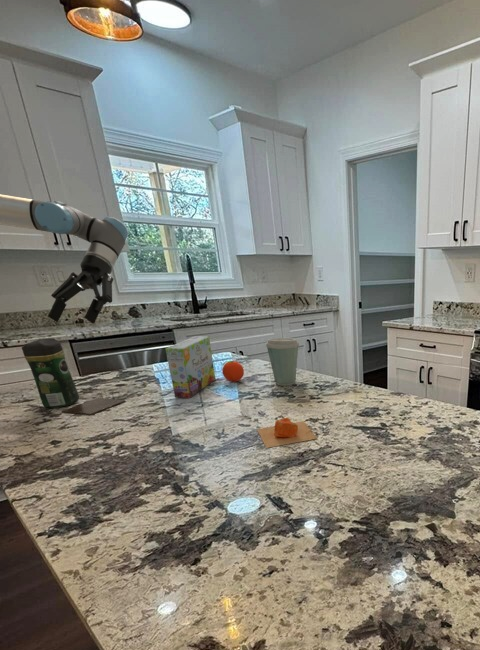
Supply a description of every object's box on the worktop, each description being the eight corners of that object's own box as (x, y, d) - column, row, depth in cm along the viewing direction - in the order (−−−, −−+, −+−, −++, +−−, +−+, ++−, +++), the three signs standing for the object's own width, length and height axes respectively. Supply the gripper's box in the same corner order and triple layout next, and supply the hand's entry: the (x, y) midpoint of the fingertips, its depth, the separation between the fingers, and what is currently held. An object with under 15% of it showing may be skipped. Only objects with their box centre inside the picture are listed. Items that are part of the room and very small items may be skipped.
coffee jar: (54, 399, 126) (32, 337, 118) (83, 397, 128) (63, 335, 120) (38, 410, 118) (13, 343, 110) (70, 407, 119) (47, 342, 111)
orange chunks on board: (303, 421, 108) (302, 406, 106) (317, 438, 98) (316, 422, 96) (256, 429, 104) (254, 413, 102) (266, 448, 94) (263, 430, 92)
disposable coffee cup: (274, 378, 146) (269, 335, 139) (305, 378, 145) (301, 335, 139) (266, 387, 136) (260, 341, 130) (299, 387, 136) (295, 341, 129)
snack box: (192, 398, 127) (182, 348, 120) (174, 398, 127) (163, 348, 120) (217, 379, 146) (209, 335, 139) (201, 379, 146) (192, 335, 139)
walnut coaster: (61, 412, 116) (61, 410, 116) (98, 399, 126) (98, 397, 126) (90, 415, 114) (90, 413, 113) (125, 401, 124) (125, 400, 124)
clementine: (217, 382, 142) (213, 361, 139) (231, 377, 148) (228, 357, 145) (235, 385, 139) (232, 364, 136) (249, 379, 145) (246, 359, 142)
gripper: (140, 271, 130) (115, 328, 123) (77, 271, 136) (49, 326, 129) (122, 253, 123) (94, 312, 116) (56, 253, 129) (25, 310, 122)
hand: (70, 319), depth 123 cm, fingers open, 13 cm apart
